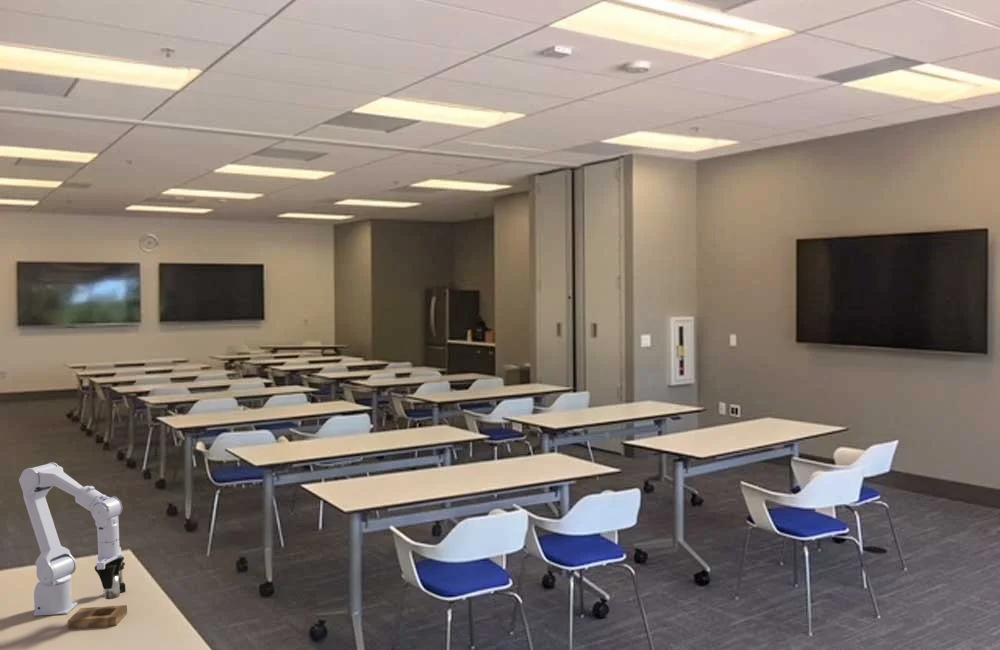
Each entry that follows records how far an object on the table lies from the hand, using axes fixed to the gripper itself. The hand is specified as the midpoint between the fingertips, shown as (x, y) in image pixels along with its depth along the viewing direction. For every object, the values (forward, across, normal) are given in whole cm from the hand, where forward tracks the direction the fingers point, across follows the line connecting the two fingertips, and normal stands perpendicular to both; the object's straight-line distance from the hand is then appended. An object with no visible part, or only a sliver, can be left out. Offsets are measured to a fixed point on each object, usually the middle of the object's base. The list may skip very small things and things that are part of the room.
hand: (110, 585), depth 239 cm
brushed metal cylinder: (+3, 0, 0) cm, 3 cm away
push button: (+9, +19, +6) cm, 22 cm away
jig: (+9, -4, +3) cm, 10 cm away
